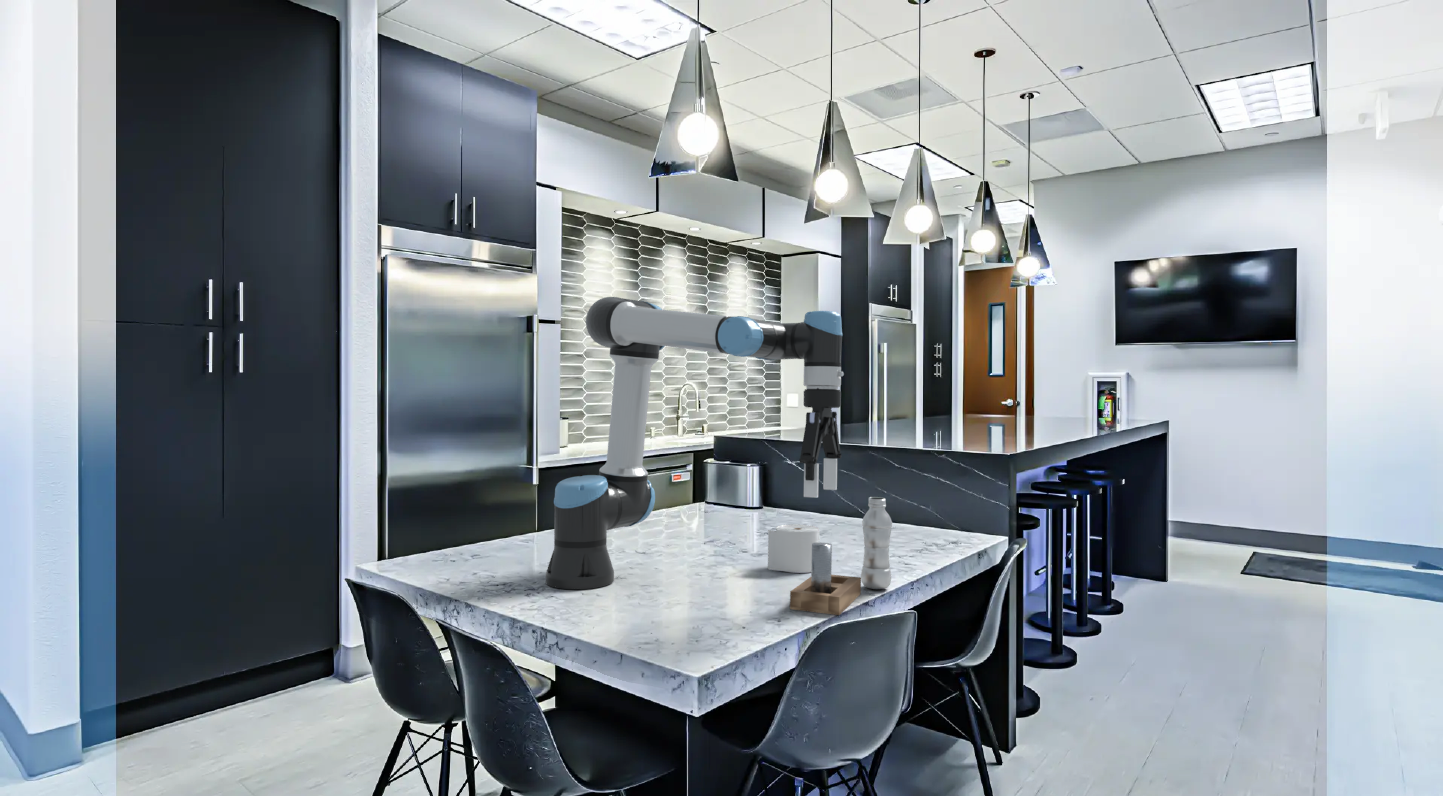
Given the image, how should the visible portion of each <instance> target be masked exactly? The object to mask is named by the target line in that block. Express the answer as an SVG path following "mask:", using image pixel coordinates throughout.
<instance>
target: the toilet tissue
mask: <svg viewBox="0 0 1443 796" xmlns="http://www.w3.org/2000/svg"><path fill="white" fill-rule="evenodd" d="M767 532H768V534H767V535H768V539H767V546H768V547H767V569H768V570H770V571H772V570H773V571H781V572H786V573H792V574H793V573H794V574H795V573H796V574H799V573H800V574H805V573H808V574H809V573H811V566H812V543H820V528H819V527H818V526H814V525H807V524H794V523H793V524H781V525H779V526H776V527H775V530H768V531H767Z"/></svg>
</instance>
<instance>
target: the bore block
mask: <svg viewBox="0 0 1443 796" xmlns="http://www.w3.org/2000/svg"><path fill="white" fill-rule="evenodd" d="M861 592H862V581H861V576H860V577H858V576H849V575H840V574H839V575H838V574H831V594H827V593H818V592H811V576H810V577H809V578H806V580H804V581H803V582H801V583H800V584H798V585H797V586H796V587H795V588H793V589H792V590H791V591H790V593H789V598H790V599H789V610H793V611H794V610H795V611H803V612H811V613H817V614H825V615H826V614H827V615H833V616H840V615H842V613H843V612H844V611H845V610H846V609H848V607H849V606H850V605H851V604H852V603H853V602H854V601H855V600H856V599H857V598H858V597H860V595H862V593H861Z"/></svg>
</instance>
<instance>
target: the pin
mask: <svg viewBox="0 0 1443 796" xmlns="http://www.w3.org/2000/svg"><path fill="white" fill-rule="evenodd" d="M832 550H833V545H832V543H828V542H819V543H812V566H811V572H810V577H811V592H818V593H827V594H831V575H832V563H833V562H832V561H833V560H832V559H833V558H832V556H833V555H832V553H833V551H832Z"/></svg>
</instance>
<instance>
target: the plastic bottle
mask: <svg viewBox="0 0 1443 796" xmlns="http://www.w3.org/2000/svg"><path fill="white" fill-rule="evenodd" d="M886 501H887V500H886V498H885V497H881V496H879V497H878V496H870V497H868V504H867V506H868V507H869V508H868V510H867V511H866V512H865V514H864V516H863V517H862V521H861V525H862V531H863V533H862V534H863V545H864V548H863V550H864V553H863V561H862V562H863V563H862V568H861V572H860V578H861V584H862V585H863V587H865V588H868V589H873V590H885V589H888V588H889V587H890V585H891V584H892V583H891V582H892V572H891V567H890V566H891V565H890V564H891V563H890V539H891V536H892V527H893V521H892V518H891V516H890V514H889V513H888V512H887V511H886V507H887V503H886Z"/></svg>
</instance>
